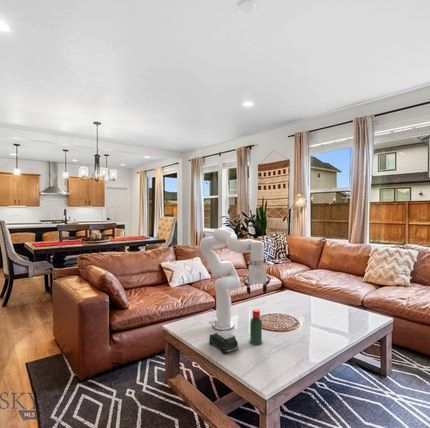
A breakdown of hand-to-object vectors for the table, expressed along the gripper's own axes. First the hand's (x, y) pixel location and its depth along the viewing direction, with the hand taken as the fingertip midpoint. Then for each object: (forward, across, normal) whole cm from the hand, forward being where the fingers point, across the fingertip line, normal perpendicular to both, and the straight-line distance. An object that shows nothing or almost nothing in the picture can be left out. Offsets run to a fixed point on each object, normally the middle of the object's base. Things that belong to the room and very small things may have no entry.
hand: (256, 293), depth 167 cm
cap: (+13, 0, 0) cm, 13 cm away
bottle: (+28, 0, 0) cm, 28 cm away
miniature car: (+28, -19, 0) cm, 34 cm away
